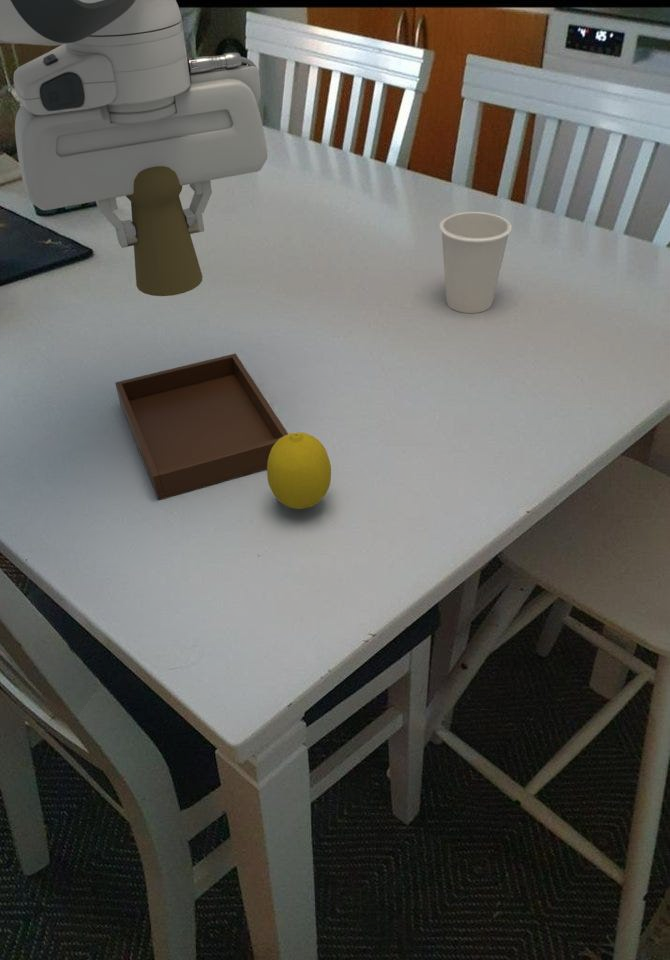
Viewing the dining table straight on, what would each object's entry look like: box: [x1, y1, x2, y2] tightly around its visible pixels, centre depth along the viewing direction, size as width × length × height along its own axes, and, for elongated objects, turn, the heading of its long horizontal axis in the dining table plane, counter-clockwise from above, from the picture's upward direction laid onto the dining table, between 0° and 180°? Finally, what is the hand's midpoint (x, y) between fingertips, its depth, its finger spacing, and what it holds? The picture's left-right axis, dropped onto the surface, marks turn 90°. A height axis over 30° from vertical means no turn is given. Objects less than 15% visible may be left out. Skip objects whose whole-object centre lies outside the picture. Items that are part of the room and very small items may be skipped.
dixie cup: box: [439, 211, 513, 314], centre depth 98 cm, size 8×8×10 cm
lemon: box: [266, 431, 332, 510], centre depth 70 cm, size 6×6×8 cm
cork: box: [125, 166, 203, 297], centre depth 71 cm, size 6×6×11 cm
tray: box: [114, 353, 289, 501], centre depth 81 cm, size 13×17×3 cm
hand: (161, 237), depth 72 cm, fingers closed on cork, 4 cm apart
